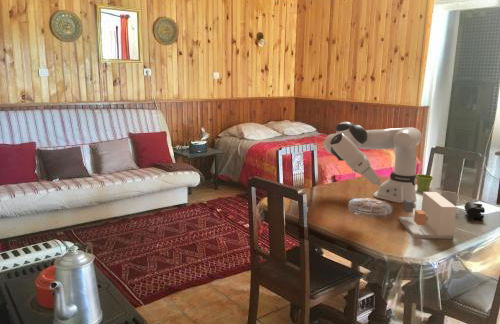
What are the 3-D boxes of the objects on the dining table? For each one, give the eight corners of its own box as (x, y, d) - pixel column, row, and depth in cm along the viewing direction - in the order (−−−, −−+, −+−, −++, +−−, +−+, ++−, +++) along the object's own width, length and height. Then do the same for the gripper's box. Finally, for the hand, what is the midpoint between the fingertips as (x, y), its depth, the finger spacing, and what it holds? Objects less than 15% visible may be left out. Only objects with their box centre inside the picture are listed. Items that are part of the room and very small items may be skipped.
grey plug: (406, 212, 189) (407, 202, 188) (402, 208, 194) (403, 198, 193) (416, 212, 189) (417, 202, 187) (412, 209, 193) (413, 199, 192)
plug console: (413, 237, 174) (417, 206, 171) (398, 219, 195) (401, 191, 192) (452, 239, 173) (456, 207, 170) (433, 220, 194) (436, 192, 192)
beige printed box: (454, 212, 206) (456, 193, 204) (439, 210, 209) (441, 191, 207) (455, 211, 209) (457, 192, 207) (440, 208, 212) (443, 189, 210)
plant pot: (431, 189, 248) (432, 175, 246) (432, 193, 239) (433, 178, 237) (414, 187, 251) (415, 173, 249) (414, 191, 242) (416, 177, 240)
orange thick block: (417, 225, 173) (418, 213, 172) (413, 220, 178) (414, 209, 177) (428, 225, 173) (429, 214, 172) (424, 221, 178) (425, 210, 177)
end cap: (463, 213, 205) (465, 200, 204) (479, 215, 203) (481, 202, 201) (466, 220, 196) (468, 206, 195) (483, 222, 194) (485, 208, 192)
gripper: (350, 162, 199) (369, 183, 200) (358, 172, 179) (379, 195, 180) (360, 153, 197) (379, 174, 199) (369, 163, 177) (390, 185, 179)
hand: (379, 184), depth 189 cm, fingers closed
